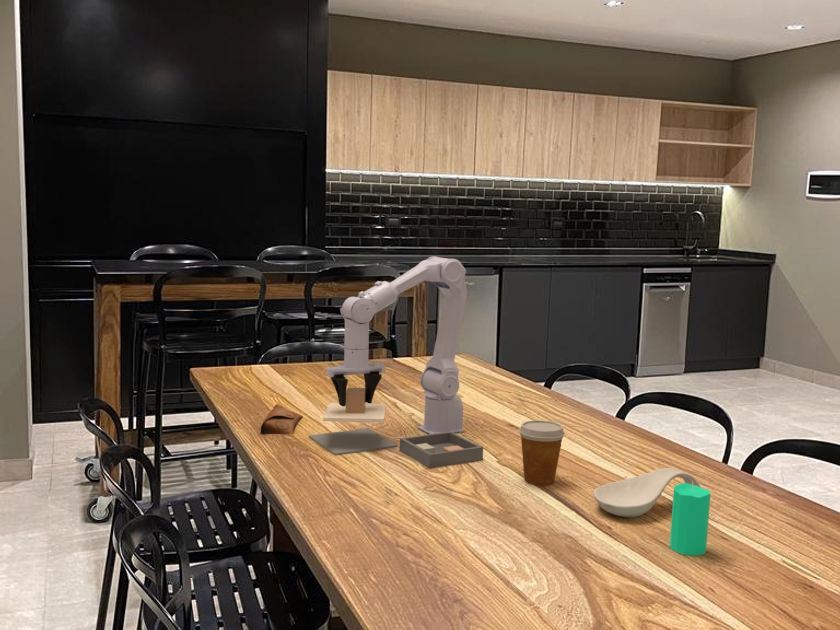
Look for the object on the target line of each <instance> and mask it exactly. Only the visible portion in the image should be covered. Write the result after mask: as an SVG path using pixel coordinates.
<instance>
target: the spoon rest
mask: <svg viewBox="0 0 840 630" xmlns="http://www.w3.org/2000/svg"><path fill="white" fill-rule="evenodd" d="M676 478H681V479H683V481H684V483H687V484H691V485H692V481H693V485H695V486H698V487H701V485H700V483H699V481H698V480H697V479H696V477H694V476H693V475H691V474H689V473H687V472H684V471H682V470H681V469H678V468H675V467H674V468H673V467H663V468H659V469H657V470H653V471H650V472H647V473H642V474H640V475H637V476H633V477H630V478H625V479H621V480H617V481H612V482H608V483H605V484H602V485H600V486H598V487H596V488H595V489H594V490H593V494H592V495H593V498H594V500H595V501H596V503H597V505H599V506H600V507H601V508H602V509H603V510H604V511H605V512H607V513H610V514H611V515H614V516H618V517H621V518H638V517H640V516H642V515H643V514H646V513H647V512H648V511H650V510H651V509H652V508H653V507H654V505H655V504H656V503H657V501H658V499H659V498H660V497H661V495H662V494H663V492H664V490H665V489H666V487H667V486H668V484H670V482H671V481H672V480H673V479H676Z"/></svg>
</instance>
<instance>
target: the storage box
mask: <svg viewBox="0 0 840 630" xmlns="http://www.w3.org/2000/svg"><path fill="white" fill-rule="evenodd" d="M399 451H400V452H401V453H402V454H404V455H405V456H408V457H410V459H413V460H415V461H417V462H418V463H419V464H422V465H423V466H426V467H427V468H428V469H433V468H438V467H439V468H440V467H446V466H451V465H453V466H454V465H458V464H459V465H460V464H464V463H465V464H466V463H471V462H478V461H483V460H484V458H483V457H484V446H482V445H480V444H478V443H476V442H474V441H472V440H469V439H467V438H465V437H464V436H461V435H459V434H457V433H453V432H443V433H436V434H428V433H427V434H421V435H415V436H407V437H399Z"/></svg>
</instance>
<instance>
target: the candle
mask: <svg viewBox="0 0 840 630" xmlns="http://www.w3.org/2000/svg"><path fill="white" fill-rule="evenodd" d="M710 503H711V492H710V490H709V489H706V488H703V487H701V486H700V487H698V486H695V485H693V481H692V485H691V484H687V483H685V482H684V483H680V484H676V485H675V486H673V492H672V506H671V507H672V509H671V510H672V511H671V522H670V523H671V525H670V535H669V536H670V539H669V546H670V549H671V550H672V551H673V552H675V553H678V554H682V555H684V556H694V557H695V556H703V555H704V554H705V553H706V552H707V544H708V530H709V518H710V517H709V516H710V506H711V504H710Z"/></svg>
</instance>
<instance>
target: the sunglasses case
mask: <svg viewBox="0 0 840 630" xmlns="http://www.w3.org/2000/svg"><path fill="white" fill-rule="evenodd" d="M301 419H303V415H301V414H300V413H296V412H294V411H291V410H289V409H287V408H285V407H284V406H282V405H281V404H275V405H274V407H273V408H272V409H271V410H270V411H269V413H268V414H267V416H266V417H265V419H264V421H263V422H262V424H261V427H260V433H261V434H262V435H266V434H284V435H285V434H291V435H290V436H293V435H294V434H295V430H296V427H297V425H299V424H298V423H299V422H300V421H301ZM285 436H286V435H285Z"/></svg>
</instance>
